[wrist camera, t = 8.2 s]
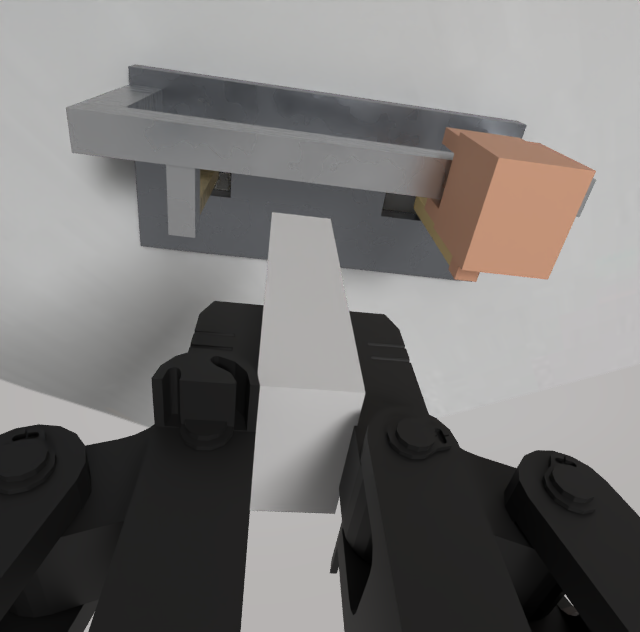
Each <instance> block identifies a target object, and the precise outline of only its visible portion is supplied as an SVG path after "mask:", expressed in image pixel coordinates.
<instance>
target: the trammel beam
mask: <svg viewBox="0 0 640 632" xmlns="http://www.w3.org/2000/svg"><path fill="white" fill-rule="evenodd" d="M66 112H67V120H68V127H69V134H70V142H71V149H72V153H78V154H86V155H94V156H102V157H110V158H118V159H126V160H134V161H142V162H150V163H157V164H165V165H166V177H167V206H168V235H174V236H183V237H192V238H195V237H196V235H197V233H198V231H199V229H200V214H201V212H202V210H203V208H204V206H205V204H206V202H207V200H208V198H209V197H210V195H211V193H212V191H213V189H214V187H215V185H216V183H217V181H218V179H219V171H221V172H229V173H236V174H244V175H252V176H260V177H268V178H276V179H284V180H292V181H300V182H307V183H315V184H323V185H331V186H339V187H347V188H355V189H363V190H371V191H379V192H386V193H394V194H402V195H410V196H418V197H426V198H434V199H442V196H443V192H444V189H445V185H446V181H447V178H448V174H449V171H450V167H451V164H452V160H453V157H454V153H453V152H446V151H439V150H432V149H424V148H417V147H410V146H403V145H395V144H388V143H381V142H374V141H366V140H359V139H352V138H345V137H338V136H330V135H323V134H316V133H309V132H301V131H294V130H287V129H280V128H272V127H265V126H258V125H251V124H243V123H236V122H229V121H222V120H215V119H207V118H200V117H193V116H186V115H178V114H171V113H164V112H163V92H162V89H159V88H152V87H145V86H138V85H131V84H129V85H126V86H124V87H121V88H118V89H115V90H113V91H110V92H107V93H104V94H102V95H99V96H96V97H93V98H91V99H88V100H85V101H83V102H80V103H77V104H74V105H72V106H69V107H66ZM595 181H596V180H595V179H594V178H593V179H592V181H591V183H590V186H589V188H588V190H587V192H586V195H585V197H584V199H583V201H582V204H581V206H580V208H579V210H578V213H577V215H576V217H580V215H581V212H582V210H583V208H584V206H585V203H586V201H587V199H588V197H589V195H590V192H591V190H592V188H593V186H594V183H595Z"/></svg>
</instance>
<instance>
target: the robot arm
mask: <svg viewBox="0 0 640 632" xmlns="http://www.w3.org/2000/svg"><path fill="white" fill-rule="evenodd" d="M409 360H410V359H409V356H408V353H407V350H406V349H405V345H404V342H403V339H402V336H401V333H400V330H399V329H398V328H397V327H396V326H395V325H394V324H393V322H392V321H391V320H390V319H389V318H388V317H387V316H386V315H384V314H373V313H362V312H351V311H349V308H348V303H347V298H346V293H345V288H344V283H343V278H342V273H341V268H340V263H339V258H338V253H337V248H336V243H335V238H334V233H333V228H332V223H331V219H328V218H319V217H311V216H302V215H293V214H284V213H275V212H272V218H271V230H270V241H269V252H268V263H267V274H266V285H265V296H264V305H253V304H242V303H231V302H220V301H214V302H213V303H212V304H210V305H209V306H208V307H207V308H206V309H205V310H204V311H203V312H201V313H200V315H199V318H198V321H197V325H196V328H195V333H194V335H193V338H192V341H191V346H190V348H189V351H188V353H185V354H181V355H178V356H175V357H173V358H172V359H170V360H169V361H167V362H165V363H164V364H162V365H161V366H160V367H159V369H158V370H157V371H156V373H155V374H154V376H153V377H152V391H153V406H154V420H155V424H154V425H153V426H151V427H150V428H148V429H146V430H144V431H142V432H140V433H138V434H136V435H132V436H129V437H126V438H122V439H118V440H112V441H108V442H102V443H98V444H92V445H87V446H85V445H84V444H83V442H82V441H81V440H80V438H79V437H78V435H77V434H76V433H74V432H72V431H69V430H67V429H65V428H63V427H61V426H50V425H33V426H28V427H22V428H16V429H13V430H11V431H8V432H6V433H3V434H1V435H0V632H84V630H85V628H86V626H87V625H88V623H89V621H90V619H91V617H92V616H93V614H94V616H93V620H92V623H91V626H90V629H89V632H240V630H241V617H242V605H243V592H244V578H245V565H246V553H247V539H248V526H249V514H250V511H275V512H305V513H330V514H331V513H332V514H335V511H336V507H337V503H338V500H339V496H340V505H341V514H342V523H341V527H340V531H339V535H338V538H337V542H336V546H335V549H334V553H333V557H332V561H331V569H330V573H337V570H338V567H339V571H340V583H341V596H342V607H343V618H344V630H345V632H640V517H639V516H638V515H637V514H636V512H635V511H634V510H633V509H632V508H631V507H630V506H629V505H628V504H627V503H626V502H625V501H624V500H623V499H622V497H621V496H620V495H619V494H618V493H617V492H616V491H615V490H614V489H613V488H612V487H611V486H610V485H609V483H608V482H607V481H606V480H604V479H603V478H602V477H601V476H600V475H599V474H598V473H596V472H595V471H594V470H593V469H592V468H590V467H589V466H587V465H586V464H584V463H582V462H580V461H578V460H577V459H575V458H573V457H571V456H568V455H565V454H562V453H558V452H555V451H540V450H538V451H534V452H532V453H529V454H527V455H525V456H524V457H523V459H522V461H521V462H520V464H519V466H518V467H517V468H514V467H510V466H508V465H504V464H501V463H498V462H495V461H492V460H489V459H485V458H483V457H479V456H477V455H474V454H472V453H469V452H467V451H465V450H463V449H461V448H460V447H459V445H458V442H457V441H456V439H455V437H454V436H453V434H452V433H451V431H450V429H448V428H447V427H446V426H445V425H444V424H442V423H441V422H440V421H439V420H438V419H437V418H435V417H433V416H431V415H429V414H428V411H427V408H426V405H425V402H424V399H423V396H422V394H421V391H420V388H419V385H418V382H417V379H416V376H415V373H414V371H413V368H412V365H411V363H409ZM565 594H566V595H567V597H568V599H569V600H570V601H571V603H572V604H573V606H572V605H571V603H570V602H569V601H568V600H567V599H566V598H565V597H564V595H565ZM94 612H95V613H94Z"/></svg>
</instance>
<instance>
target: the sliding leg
mask: <svg viewBox="0 0 640 632" xmlns="http://www.w3.org/2000/svg"><path fill="white" fill-rule="evenodd" d="M442 144H443V145H445V146H446V147H447V148H448V149H449V150H451V151H452V152H453V153H454V157H453V160H452V164H451V167H450V171H449V174H448V178H447V181H446V185H445V189H444V192H443V196H442V199H434V198H426V197H418V196H416V199H415V203H414V207H413V208H414V210H415V212H416V213H417V215H418V216H419V218H420V220H421V221H422V223H423V224H424V226H425V228H426V229H427V231H428V232H429V234H430V236H431V237H432V239H433V240H434V242H435V244H436V245H437V247H438V248H439V250H440V252H441V253H442V255H443V256H444V258H445V260H446V261H447V263H448V264H449V271H450V273H451V274H452V276H453V278H454V279H456V280H465V281H474V282H476V281H477V278H478V275H479V273H480V272H485V273H494V274H503V275H512V276H522V277H531V278H540V279H548V278H549V276H550V273H551V271H552V269H553V267H554V264H555V262H556V260H557V258H558V255H559V253H560V251H561V249H562V246H563V244H564V242H565V240H566V237H567V235H568V233H569V231H570V228H571V226H572V224H573V222H574V219H575V217H576V215H577V213H578V210H579V208H580V206H581V204H582V201H583V199H584V197H585V195H586V192H587V190H588V188H589V186H590V183H591V181H592V179H593V177H594V174H595V172H596V171H595V170H593V169H591V168H589V167H587V166H585V165H583V164H581V163H579V162H577V161H575V160H573V159H570V158H568V157H566V156H564V155H562V154H560V153H558V152H556V151H554V150H552V149H550V148H548V147H546V146H544V145H542V144H540V143H534V142H527V141H525V140H523V139H521V138H518V137H511V136H504V135H497V134H490V133H483V132H476V131H469V130H462V129H455V128H448V127H446V130H445V133H444V137H443V141H442Z"/></svg>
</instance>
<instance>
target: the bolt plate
mask: <svg viewBox="0 0 640 632" xmlns="http://www.w3.org/2000/svg"><path fill="white" fill-rule="evenodd" d="M128 68H129V82H130V84H131V85H138V86H145V87H152V88H159V89H162V92H163V112H164V113H171V114H178V115H186V116H193V117H200V118H207V119H215V120H222V121H229V122H236V123H243V124H251V125H258V126H265V127H272V128H280V129H287V130H294V131H301V132H309V133H316V134H323V135H330V136H338V137H345V138H352V139H359V140H366V141H374V142H381V143H388V144H395V145H403V146H410V147H417V148H424V149H432V150H439V151H446V152H452V151H451V150H449V149H448V148H447V147H446V146H445V145H443V144H442V141H443V137H444V133H445V130H446V127H448V128H455V129H462V130H469V131H476V132H483V133H490V134H497V135H504V136H511V137H518V138H521V139H522V137H523V134H524V131H525V128H526V125H525V124H523V123H521V122H518V121H513V120H506V119H500V118H493V117H486V116H479V115H473V114H466V113H459V112H452V111H446V110H439V109H432V108H425V107H419V106H412V105H405V104H398V103H392V102H385V101H378V100H371V99H365V98H358V97H351V96H344V95H338V94H331V93H324V92H317V91H310V90H304V89H297V88H290V87H283V86H277V85H270V84H263V83H256V82H250V81H243V80H236V79H229V78H223V77H216V76H209V75H202V74H196V73H189V72H182V71H175V70H169V69H162V68H155V67H148V66H142V65H132V66H128ZM135 169H136V184H137V199H138V213H139V228H140V242H141V246H146V247H156V248H165V249H174V250H183V251H193V252H202V253H211V254H221V255H230V256H239V257H248V258H258V259H267V260H268V252H269V241H270V230H271V218H272V212H275V213H284V214H293V215H302V216H311V217H319V218H328V219H331V223H332V228H333V233H334V238H335V243H336V248H337V253H338V258H339V263H340V267H341V268H350V269H360V270H369V271H378V272H388V273H397V274H406V275H415V276H425V277H434V278H443V279H452V280H456V279H454V278H453V276H452V274H451V273H450V271H449V264H448V263H447V261H446V260H445V258H444V256H443V255H442V253H441V252H440V250H439V248H438V247H437V245H436V244H435V242H434V240H433V239H432V237H431V236H430V234H429V232H428V231H427V229H426V228H425V226H424V224H423V223H422V221H421V220H420V218H419V216H418V215H417V213H416V214H412V213H404V212H396V211H387V210H382V208H383V204H384V199H385V195H386V192H379V191H371V190H363V189H355V188H347V187H339V186H331V185H323V184H315V183H307V182H300V181H292V180H284V179H276V178H268V177H260V176H252V175H244V174H236V173H232V174H231V191H224V190H216V189H213V191H212V193H211V195H210V197H209V198H208V200H207V202H206V204H205V206H204V208H203V210H202V212H201V214H200V229H199V231H198V233H197V235H196V237H195V238H192V237H183V236H174V235H168V206H167V177H166V165H165V164H157V163H150V162H142V161H135ZM462 281H465V280H462ZM471 282H472V281H471Z"/></svg>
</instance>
